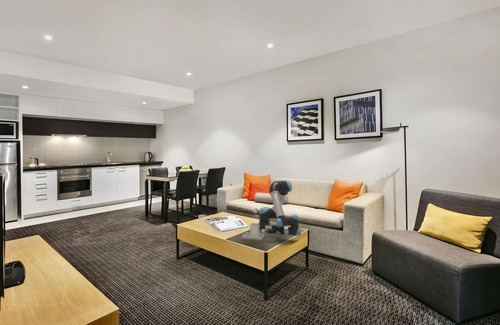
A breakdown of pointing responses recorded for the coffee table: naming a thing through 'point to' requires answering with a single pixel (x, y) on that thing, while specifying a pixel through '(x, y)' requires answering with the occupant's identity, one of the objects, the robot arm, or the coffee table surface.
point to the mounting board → (252, 237)
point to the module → (254, 230)
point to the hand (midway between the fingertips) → (263, 228)
